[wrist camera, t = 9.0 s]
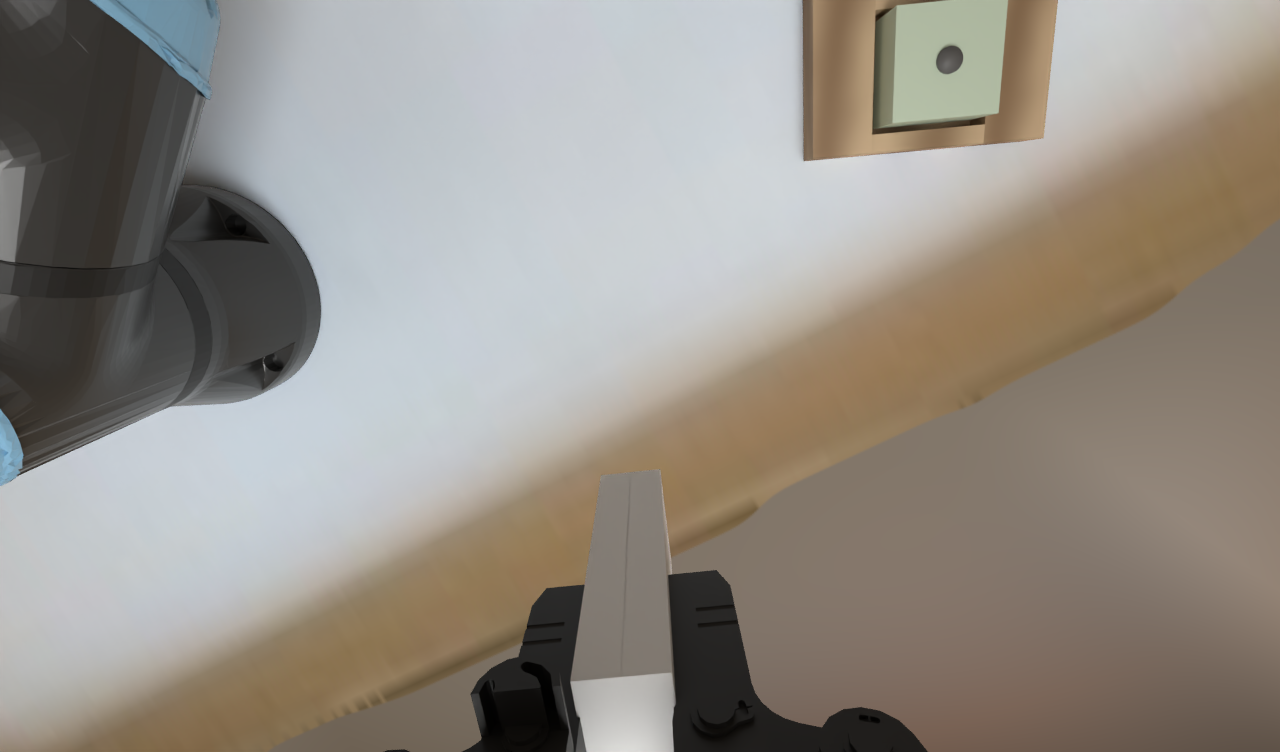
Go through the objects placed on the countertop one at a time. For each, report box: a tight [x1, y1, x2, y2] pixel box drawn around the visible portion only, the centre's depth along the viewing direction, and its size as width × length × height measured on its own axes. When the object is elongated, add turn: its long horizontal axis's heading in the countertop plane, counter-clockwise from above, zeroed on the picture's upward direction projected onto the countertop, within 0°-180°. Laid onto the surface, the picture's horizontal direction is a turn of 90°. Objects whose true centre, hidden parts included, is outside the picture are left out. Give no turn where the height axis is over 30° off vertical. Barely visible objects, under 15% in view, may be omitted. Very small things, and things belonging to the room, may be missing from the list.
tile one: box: [873, 0, 1008, 129], centre depth 35 cm, size 6×6×3 cm
